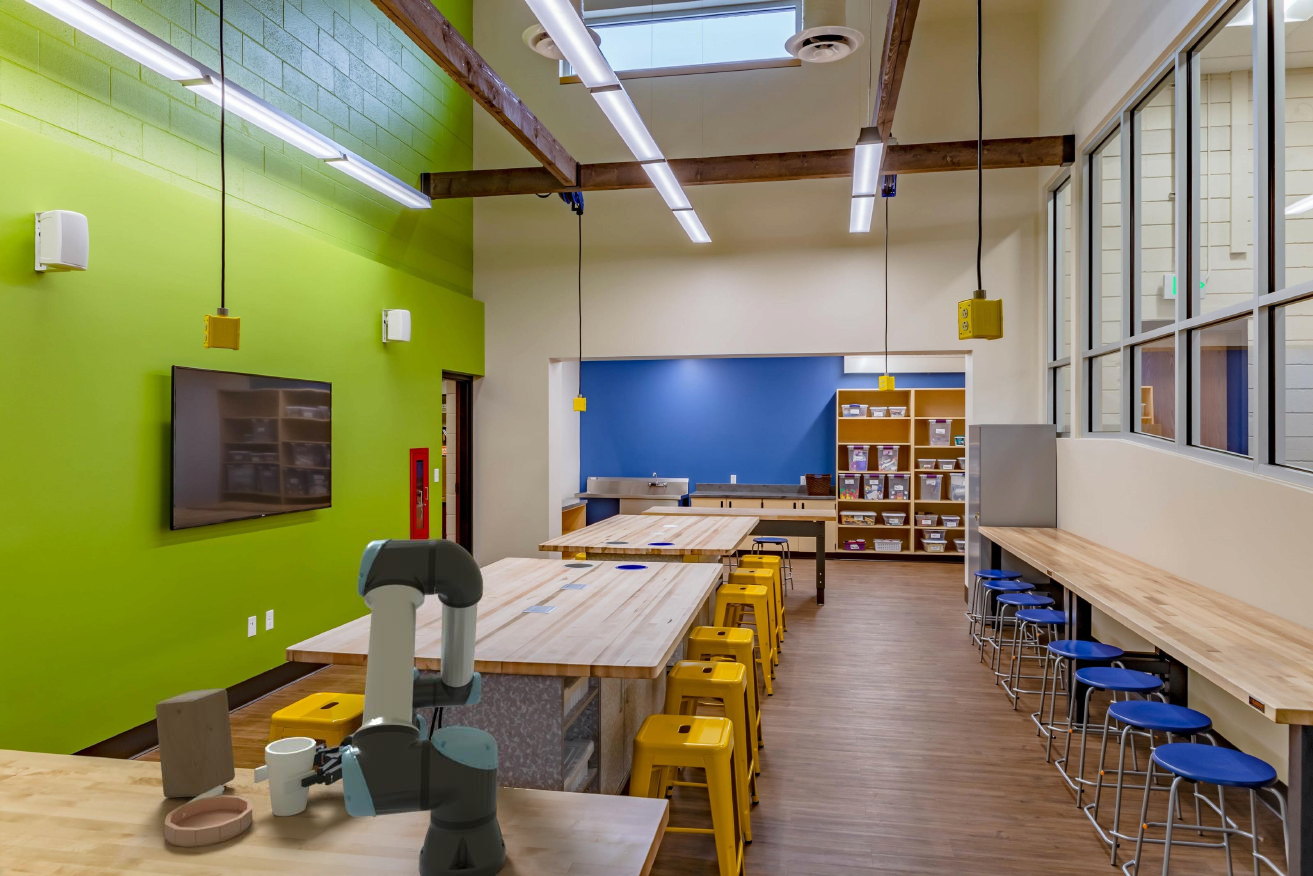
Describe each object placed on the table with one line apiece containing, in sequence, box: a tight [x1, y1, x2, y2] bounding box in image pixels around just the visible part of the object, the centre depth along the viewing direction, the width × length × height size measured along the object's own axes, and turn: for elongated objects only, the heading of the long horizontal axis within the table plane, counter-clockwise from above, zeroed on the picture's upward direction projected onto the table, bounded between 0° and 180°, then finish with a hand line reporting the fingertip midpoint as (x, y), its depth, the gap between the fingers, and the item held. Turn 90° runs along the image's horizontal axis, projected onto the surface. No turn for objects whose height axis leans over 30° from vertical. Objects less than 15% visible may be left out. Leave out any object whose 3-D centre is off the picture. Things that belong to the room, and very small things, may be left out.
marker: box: [183, 785, 227, 818], centre depth 164 cm, size 3×2×16 cm
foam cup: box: [264, 736, 317, 817], centre depth 162 cm, size 10×9×13 cm
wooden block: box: [155, 688, 236, 799], centre depth 170 cm, size 10×10×20 cm
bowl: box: [163, 794, 253, 848], centre depth 154 cm, size 15×15×3 cm
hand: (269, 782), depth 159 cm, fingers closed on foam cup, 9 cm apart
